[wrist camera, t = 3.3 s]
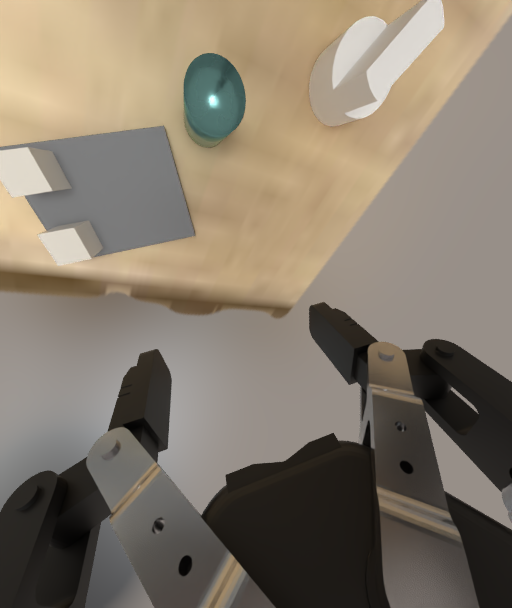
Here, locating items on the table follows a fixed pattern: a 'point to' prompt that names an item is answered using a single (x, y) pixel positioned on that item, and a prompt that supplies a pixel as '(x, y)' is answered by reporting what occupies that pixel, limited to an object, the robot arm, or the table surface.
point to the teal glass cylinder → (212, 99)
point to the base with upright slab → (369, 62)
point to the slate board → (116, 188)
